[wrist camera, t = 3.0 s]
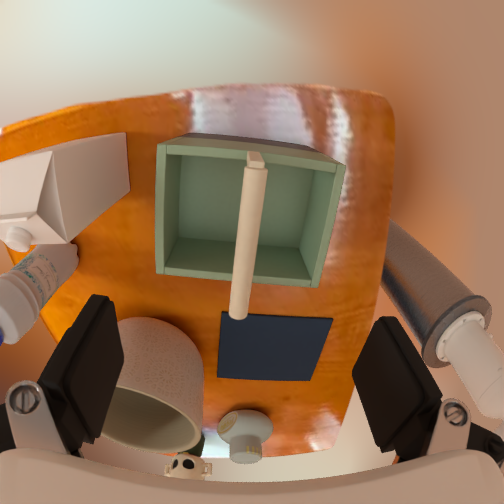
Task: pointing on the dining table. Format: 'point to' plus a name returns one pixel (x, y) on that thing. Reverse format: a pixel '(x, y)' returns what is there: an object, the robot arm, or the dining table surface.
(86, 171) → the milk carton
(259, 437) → the air freshener
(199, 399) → the planter
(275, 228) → the box
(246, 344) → the mat
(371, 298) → the dining table surface
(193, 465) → the character mug
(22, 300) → the bottle
